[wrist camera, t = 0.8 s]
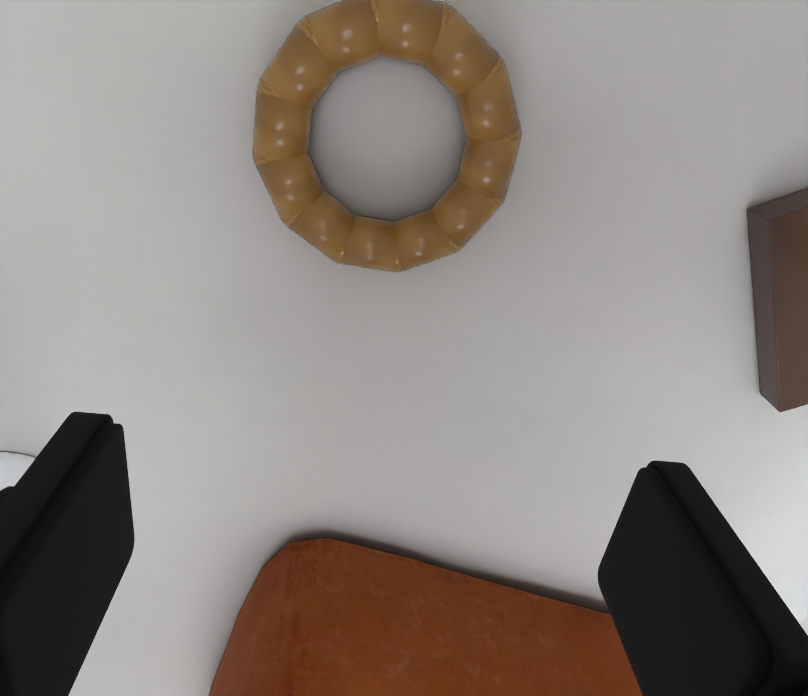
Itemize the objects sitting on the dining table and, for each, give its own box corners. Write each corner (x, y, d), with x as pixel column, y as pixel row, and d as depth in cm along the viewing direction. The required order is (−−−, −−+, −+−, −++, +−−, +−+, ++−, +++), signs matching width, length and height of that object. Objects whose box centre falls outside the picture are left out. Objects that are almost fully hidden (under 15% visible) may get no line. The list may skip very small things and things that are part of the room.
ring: (471, -52, 18) (480, -59, 17) (537, 213, 23) (549, 227, 21) (212, 55, 19) (198, 58, 18) (320, 290, 24) (316, 309, 22)
